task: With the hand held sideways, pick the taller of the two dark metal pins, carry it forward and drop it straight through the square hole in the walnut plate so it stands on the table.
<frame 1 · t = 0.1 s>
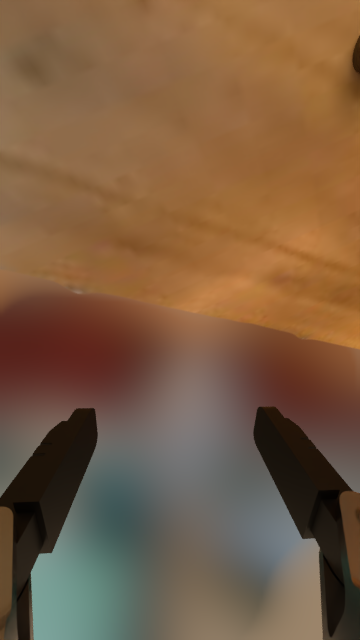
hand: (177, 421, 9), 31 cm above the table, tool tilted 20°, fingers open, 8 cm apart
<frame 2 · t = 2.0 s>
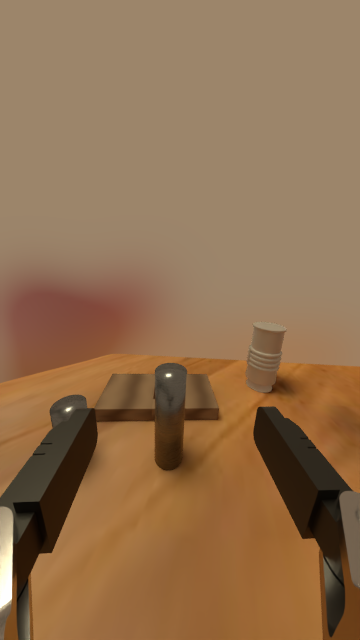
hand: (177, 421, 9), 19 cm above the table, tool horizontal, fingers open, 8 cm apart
hole plate: (159, 399, 38), on the table
tall pin: (168, 455, 27), on the table
short pin: (76, 458, 26), on the table
white ribbed cylinder: (258, 385, 44), on the table
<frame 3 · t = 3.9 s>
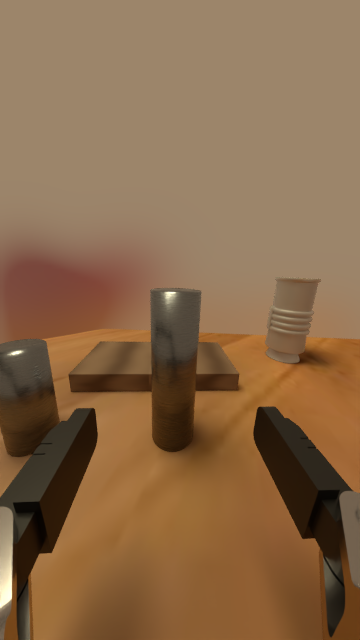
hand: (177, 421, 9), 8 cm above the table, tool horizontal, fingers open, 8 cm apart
hole plate: (158, 369, 29), on the table
tall pin: (172, 432, 18), on the table
short pin: (35, 435, 17), on the table
white ribbed cylinder: (281, 356, 36), on the table
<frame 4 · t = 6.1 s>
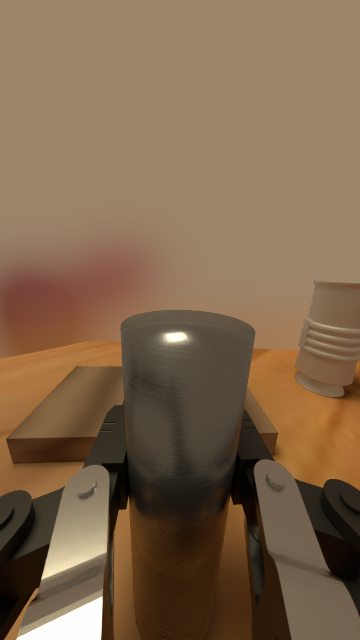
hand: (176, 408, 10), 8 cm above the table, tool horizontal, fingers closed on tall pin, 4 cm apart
hole plate: (154, 410, 21), on the table
tall pin: (174, 584, 9), on the table, touching gripper
white ribbed cylinder: (317, 385, 27), on the table
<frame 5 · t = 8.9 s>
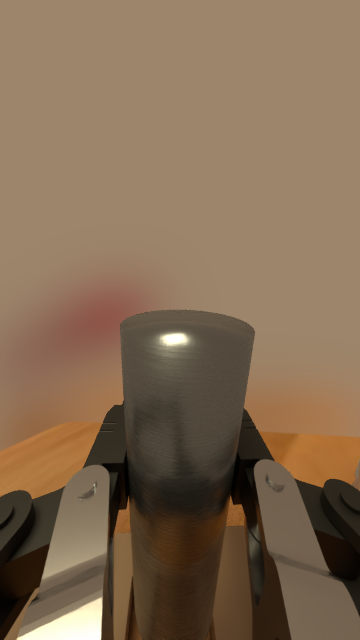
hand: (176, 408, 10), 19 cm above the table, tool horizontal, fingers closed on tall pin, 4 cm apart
tall pin: (174, 584, 9), point 10 cm above the table, touching gripper
when the fingers open (10 cm above the table, at t = 11.4 s): tall pin drops 1 cm, resting in hole plate.
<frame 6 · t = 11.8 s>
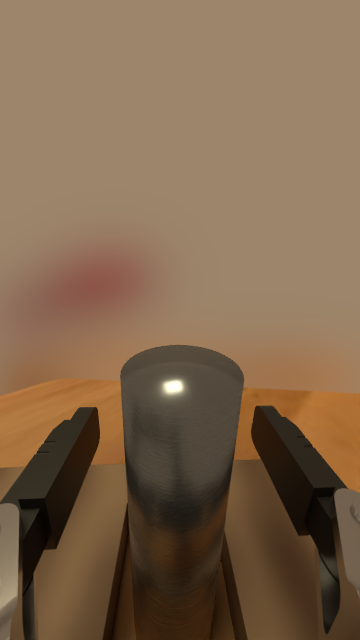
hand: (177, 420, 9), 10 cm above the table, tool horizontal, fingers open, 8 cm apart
hole plate: (135, 605, 10), on the table
tall pin: (173, 605, 10), resting in hole plate
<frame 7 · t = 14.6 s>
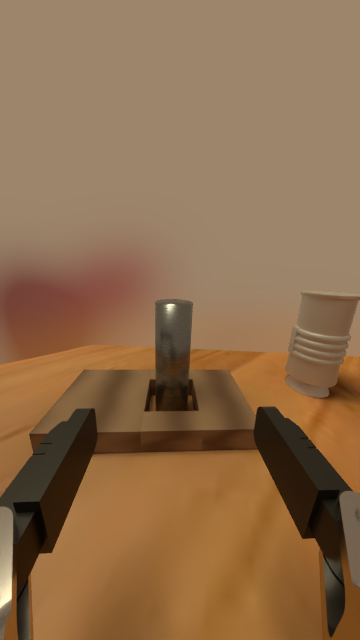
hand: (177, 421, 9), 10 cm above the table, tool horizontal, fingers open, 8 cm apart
hole plate: (155, 410, 23), on the table
tall pin: (171, 410, 23), resting in hole plate
white ribbed cylinder: (305, 386, 30), on the table
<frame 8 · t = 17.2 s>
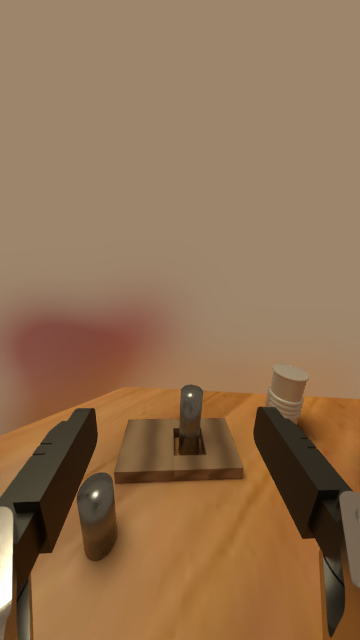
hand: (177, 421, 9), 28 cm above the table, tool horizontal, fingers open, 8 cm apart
hole plate: (178, 450, 37), on the table
tall pin: (188, 450, 37), resting in hole plate
short pin: (101, 537, 24), on the table
white ribbed cylinder: (277, 428, 43), on the table
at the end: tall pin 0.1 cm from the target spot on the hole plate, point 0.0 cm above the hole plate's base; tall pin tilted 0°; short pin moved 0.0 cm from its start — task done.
